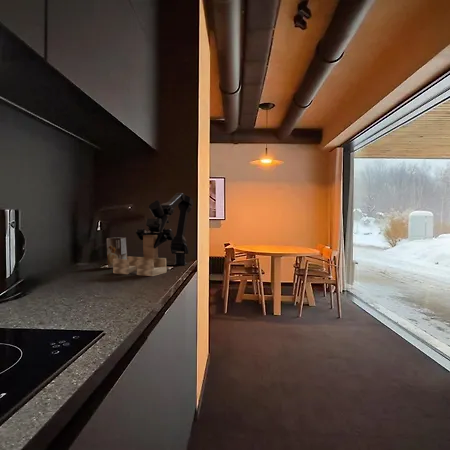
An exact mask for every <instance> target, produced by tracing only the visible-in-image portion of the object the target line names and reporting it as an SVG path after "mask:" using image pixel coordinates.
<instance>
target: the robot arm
mask: <svg viewBox="0 0 450 450" xmlns="http://www.w3.org/2000/svg"><path fill="white" fill-rule="evenodd" d="M193 206H194V200H193V198H192V197H191V196H188V195H186V194H185V193H183V192H177V193H175V194H174V195H173V197H171V198H170V199H169V200H168V201H167V202H162V203H161V202H160V200H154V201H153V202H151V203H150V204H149V205H148V209H149V211H150V213H151V214H152V217H154V218H146V221H145V226H146V227H148V228H147V229H148V230H149V231H148V230H146V228H137V229H136V232H135V234H136V235H137V237H138V239H139V240H140V241H143V235H158V236H157V239H156V242H155V244H154V248H156V247H160V245H162V244H164V243H165V242H167V241H170V242H171V243H170V245H169V246H170V252H171V254H175V255H174V259H175V261H174V263H173V265H174V266H186V265H187V264H188V262H186V255H188V254H190V249H189V246H188V245H187V244H188V242H187V239H186V237H185V235H186V232H187V231H186V229H187V225H188V224H187V223H188V218H189V213H190V212H191V211H192V209H193ZM176 207H177V208H178V210H179V216H178V220H177V227H176V233H175V234H174V232H173V230H172V229H171V228H166V224H169V223H170V220H169V216H173V214H174V213H175V208H176Z"/></svg>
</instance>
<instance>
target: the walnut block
mask: <svg viewBox="0 0 450 450" xmlns="http://www.w3.org/2000/svg"><path fill="white" fill-rule="evenodd" d="M157 236H158V235H143V240H142V242H143V243H142V246H143V247H142V248H143V251H142V252H143V257H144V259H154V258H159V248H158V247H159V246H158V247H156V248H154V244H155V242H156V239H157Z"/></svg>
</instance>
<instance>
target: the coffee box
mask: <svg viewBox="0 0 450 450" xmlns="http://www.w3.org/2000/svg"><path fill="white" fill-rule="evenodd" d="M127 243H128V242H127V237H107V238H106V255H107V259H106V260H107V268H108V267H109V268H111V269H113V259H127V257H128V244H127Z"/></svg>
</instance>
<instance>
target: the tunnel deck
mask: <svg viewBox="0 0 450 450" xmlns="http://www.w3.org/2000/svg"><path fill="white" fill-rule="evenodd" d="M167 270H168V269H167V257H158V258H154V259H144V256H130V255H129V256H128V255H127V259H113V268H112V271H113V274H118V275H136V276H144V277H145V276H146V277H147V276H148V277H154V276H158V275H162V274H166V273H167Z"/></svg>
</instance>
